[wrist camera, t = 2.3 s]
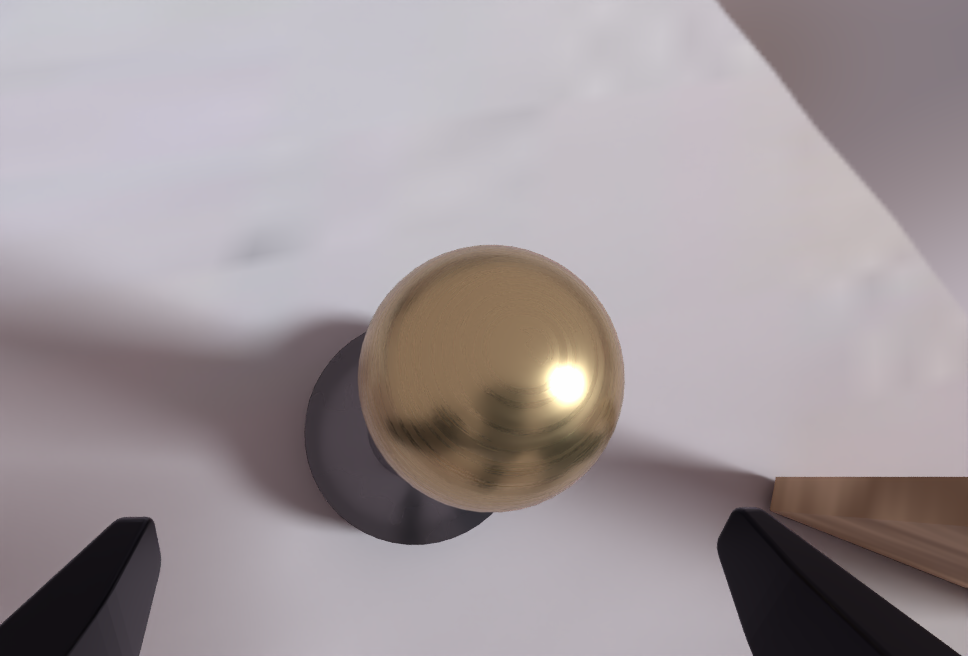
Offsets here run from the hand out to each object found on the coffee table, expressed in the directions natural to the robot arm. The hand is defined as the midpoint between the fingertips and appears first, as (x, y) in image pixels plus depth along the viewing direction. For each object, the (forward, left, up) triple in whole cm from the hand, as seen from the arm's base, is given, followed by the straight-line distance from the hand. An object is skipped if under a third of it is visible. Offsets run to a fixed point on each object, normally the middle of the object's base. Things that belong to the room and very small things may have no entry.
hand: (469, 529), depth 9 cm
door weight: (+2, +1, -10) cm, 10 cm away
